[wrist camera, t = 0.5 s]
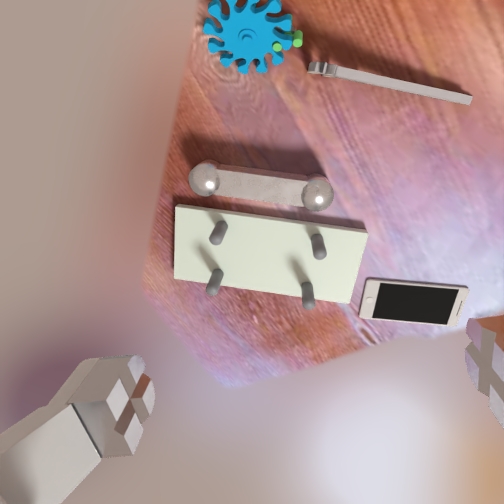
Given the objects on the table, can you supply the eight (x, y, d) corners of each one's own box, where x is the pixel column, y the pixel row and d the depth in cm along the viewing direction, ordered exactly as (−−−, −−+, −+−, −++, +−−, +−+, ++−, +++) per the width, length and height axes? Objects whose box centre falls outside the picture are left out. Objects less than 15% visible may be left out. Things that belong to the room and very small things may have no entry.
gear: (201, 69, 42) (203, -16, 33) (207, 34, 44) (210, -56, 35) (289, 86, 44) (315, 8, 34) (291, 51, 46) (316, -31, 36)
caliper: (306, 73, 43) (309, 70, 37) (309, 63, 43) (312, 59, 37) (467, 105, 43) (495, 107, 37) (471, 95, 43) (500, 96, 37)
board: (178, 203, 51) (164, 217, 46) (366, 229, 51) (376, 247, 45) (176, 274, 57) (163, 294, 51) (347, 298, 56) (354, 323, 50)
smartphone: (366, 277, 54) (367, 280, 53) (467, 285, 53) (470, 289, 52) (357, 315, 57) (359, 318, 56) (453, 323, 56) (456, 327, 55)
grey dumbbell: (196, 157, 48) (189, 162, 45) (333, 175, 48) (336, 182, 44) (195, 186, 50) (188, 194, 47) (326, 204, 50) (329, 213, 46)
